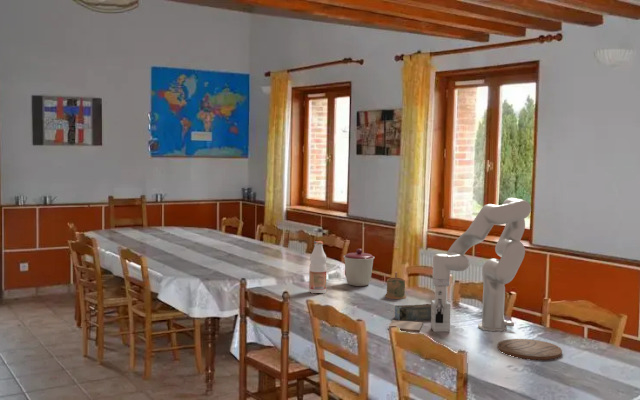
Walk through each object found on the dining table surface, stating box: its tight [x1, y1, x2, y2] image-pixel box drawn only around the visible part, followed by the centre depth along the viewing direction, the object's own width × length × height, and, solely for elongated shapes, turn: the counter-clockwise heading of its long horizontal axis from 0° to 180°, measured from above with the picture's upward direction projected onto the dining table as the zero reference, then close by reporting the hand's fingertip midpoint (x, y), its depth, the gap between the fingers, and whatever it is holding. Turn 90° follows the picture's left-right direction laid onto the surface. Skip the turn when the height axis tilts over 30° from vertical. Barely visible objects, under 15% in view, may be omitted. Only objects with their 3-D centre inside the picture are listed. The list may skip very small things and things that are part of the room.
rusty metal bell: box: [384, 271, 407, 300], centre depth 389 cm, size 12×18×12 cm, turn 174°
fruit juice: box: [308, 240, 328, 294], centre depth 392 cm, size 9×9×28 cm
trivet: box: [497, 338, 563, 361], centre depth 290 cm, size 25×25×2 cm
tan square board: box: [387, 319, 424, 333], centre depth 323 cm, size 14×14×1 cm
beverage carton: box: [394, 303, 431, 322], centre depth 340 cm, size 8×19×7 cm, turn 102°
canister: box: [343, 248, 375, 287], centre depth 416 cm, size 18×18×21 cm
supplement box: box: [430, 299, 451, 333], centre depth 319 cm, size 7×7×13 cm
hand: (440, 320), depth 320 cm, fingers closed on supplement box, 8 cm apart
